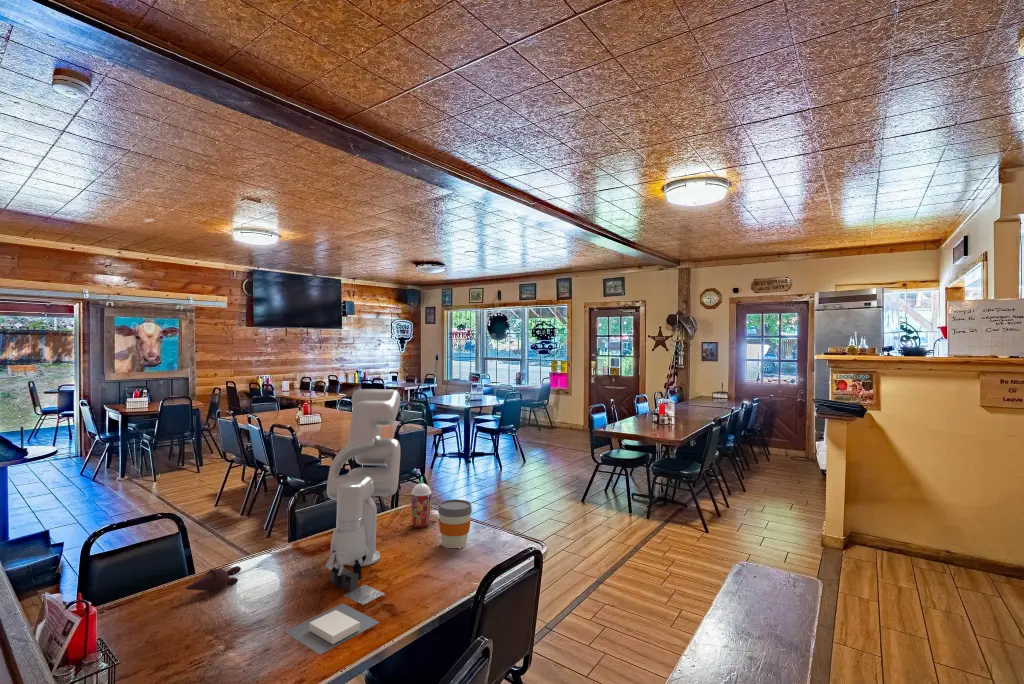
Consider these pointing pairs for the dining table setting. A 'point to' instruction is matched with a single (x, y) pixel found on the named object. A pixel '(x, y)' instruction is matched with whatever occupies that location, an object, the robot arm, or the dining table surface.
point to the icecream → (215, 580)
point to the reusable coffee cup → (454, 522)
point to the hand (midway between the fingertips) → (347, 582)
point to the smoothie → (421, 504)
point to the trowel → (356, 587)
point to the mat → (318, 643)
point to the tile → (334, 626)
